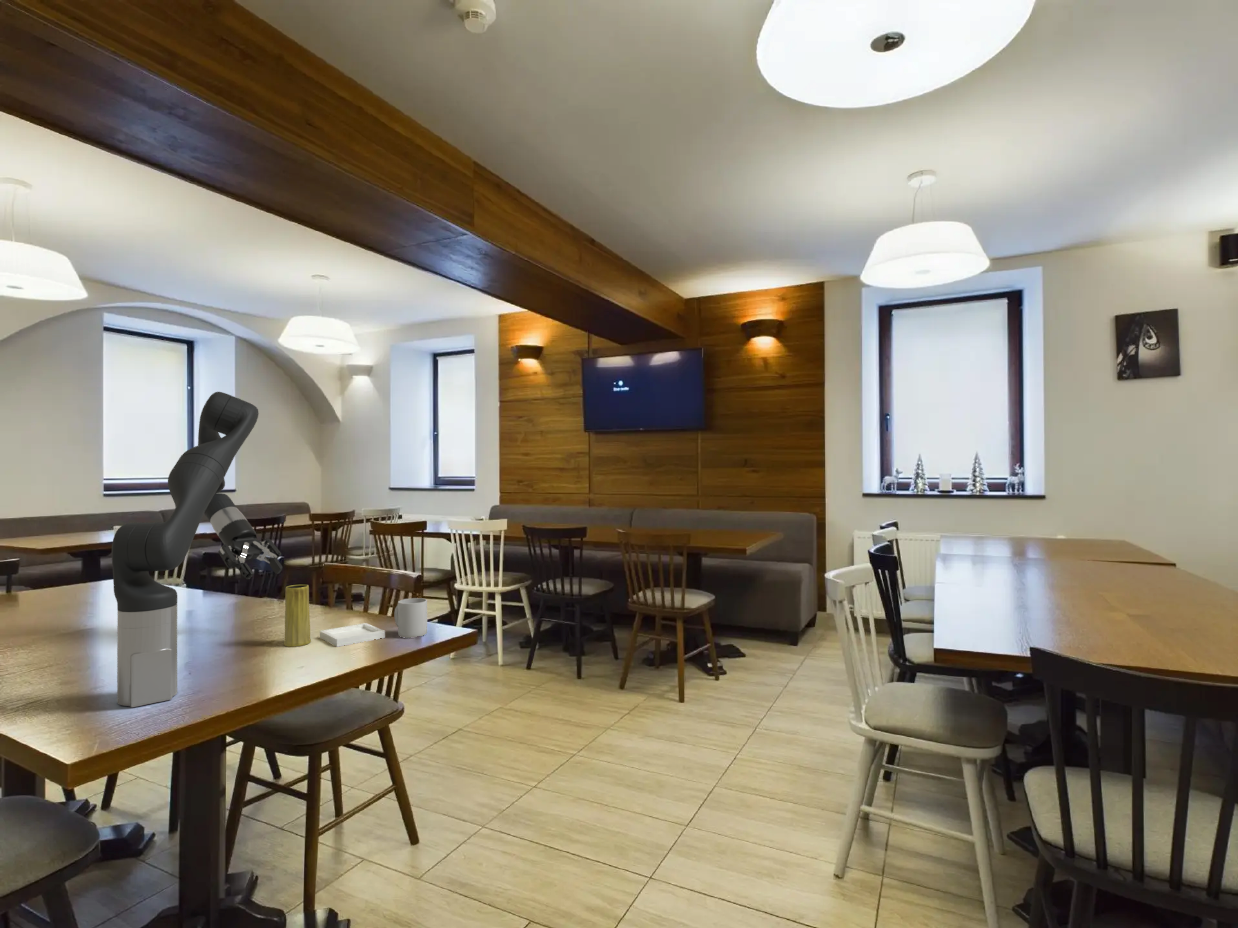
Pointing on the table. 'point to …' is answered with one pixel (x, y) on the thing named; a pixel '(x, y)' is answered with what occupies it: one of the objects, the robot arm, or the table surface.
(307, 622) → the vase
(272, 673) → the table surface
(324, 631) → the dish
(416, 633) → the cup
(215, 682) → the table surface
